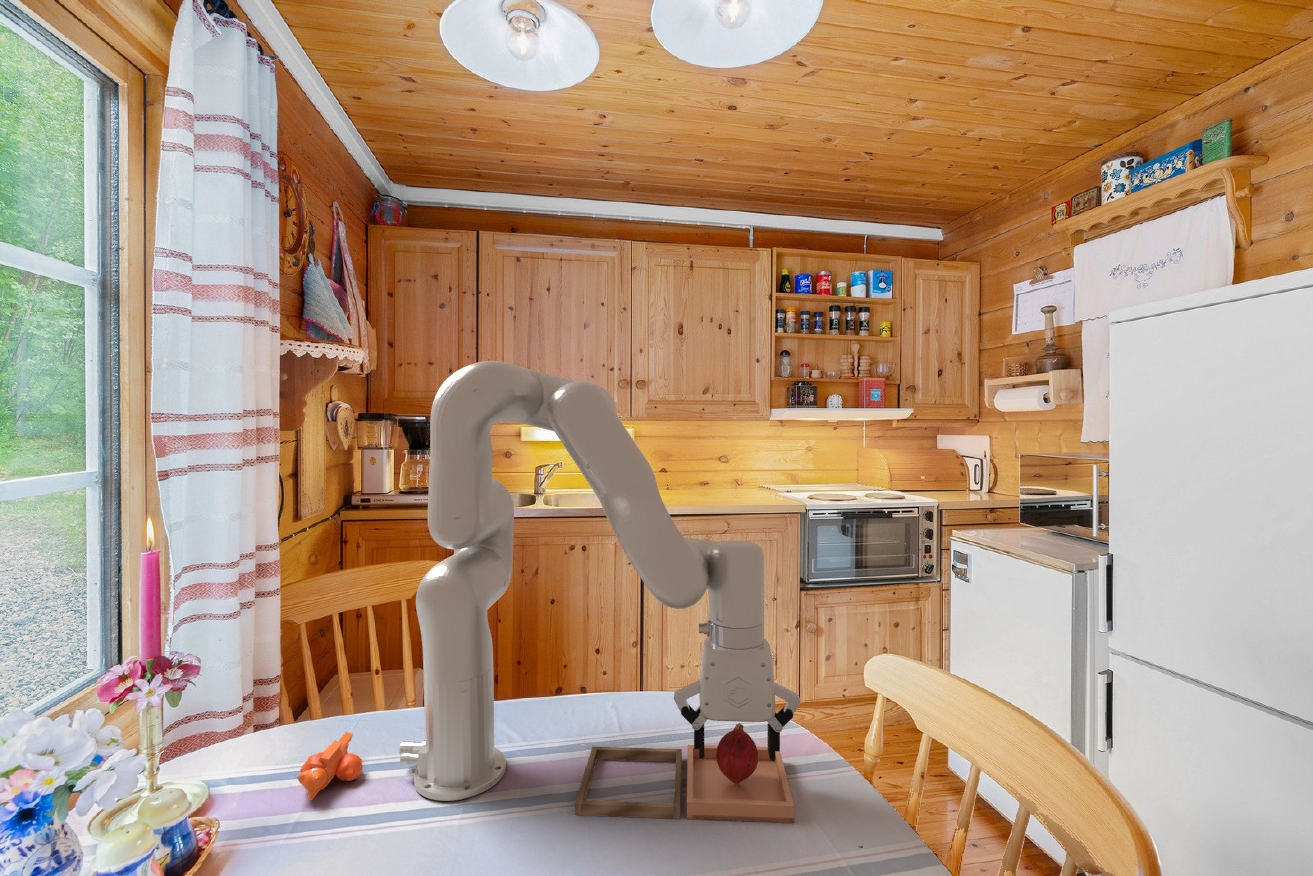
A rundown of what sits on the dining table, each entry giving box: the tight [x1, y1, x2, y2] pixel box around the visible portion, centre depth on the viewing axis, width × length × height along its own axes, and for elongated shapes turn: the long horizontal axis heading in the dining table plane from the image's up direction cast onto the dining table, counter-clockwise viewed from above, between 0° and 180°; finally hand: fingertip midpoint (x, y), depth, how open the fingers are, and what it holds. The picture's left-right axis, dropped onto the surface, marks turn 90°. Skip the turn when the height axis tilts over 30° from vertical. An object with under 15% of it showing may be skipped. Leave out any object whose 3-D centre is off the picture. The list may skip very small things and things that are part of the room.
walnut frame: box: [574, 745, 683, 820], centre depth 85 cm, size 14×14×2 cm
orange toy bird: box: [297, 731, 363, 801], centre depth 86 cm, size 5×8×12 cm
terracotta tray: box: [686, 744, 795, 824], centre depth 84 cm, size 14×14×2 cm
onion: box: [716, 722, 758, 783], centre depth 84 cm, size 6×6×8 cm
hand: (736, 754), depth 84 cm, fingers open, 9 cm apart
